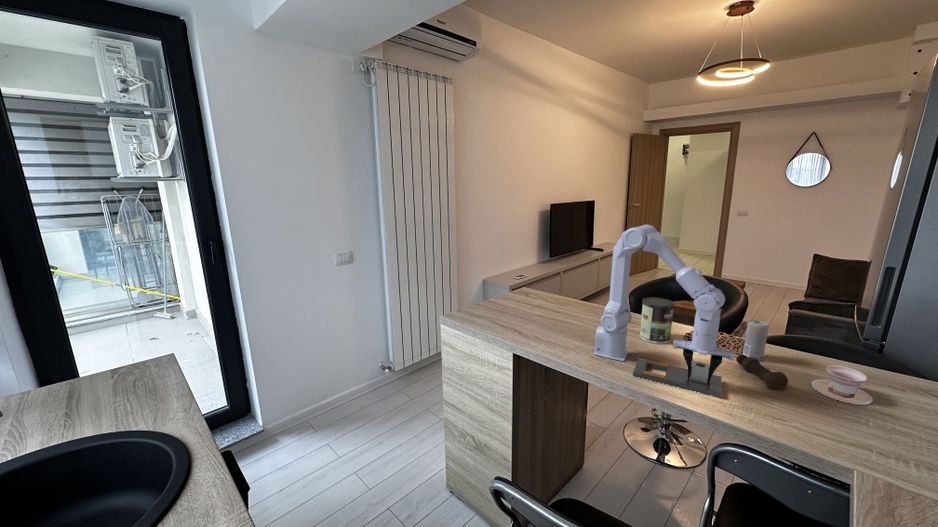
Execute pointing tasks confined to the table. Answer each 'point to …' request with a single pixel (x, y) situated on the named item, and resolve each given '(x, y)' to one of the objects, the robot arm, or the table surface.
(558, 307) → the table surface
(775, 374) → the dark brown lumpy rod
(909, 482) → the table surface
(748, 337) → the energy drink
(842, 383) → the teacup
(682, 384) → the rail
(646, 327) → the coffee can
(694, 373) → the nut block
